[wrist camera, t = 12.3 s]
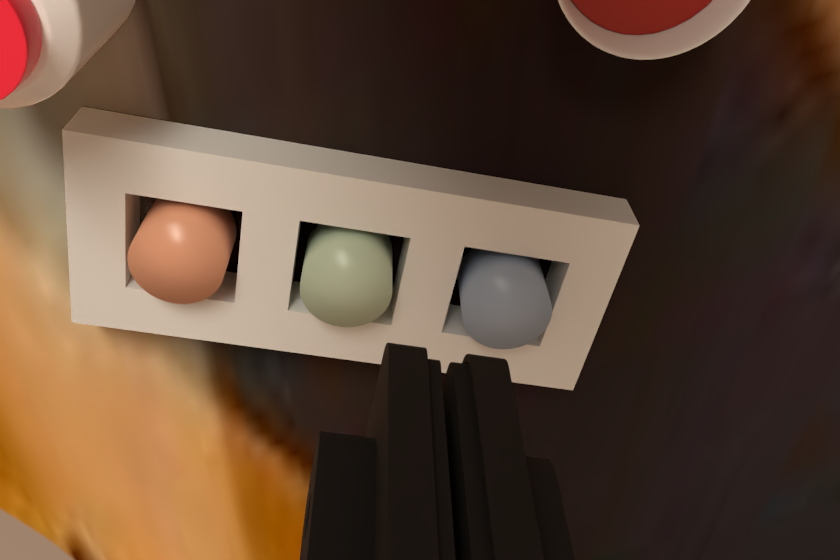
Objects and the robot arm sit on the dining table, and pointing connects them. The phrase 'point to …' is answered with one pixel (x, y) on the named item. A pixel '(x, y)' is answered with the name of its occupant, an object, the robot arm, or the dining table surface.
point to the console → (336, 206)
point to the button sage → (346, 275)
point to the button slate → (503, 298)
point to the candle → (650, 24)
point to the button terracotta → (182, 250)
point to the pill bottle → (51, 43)
